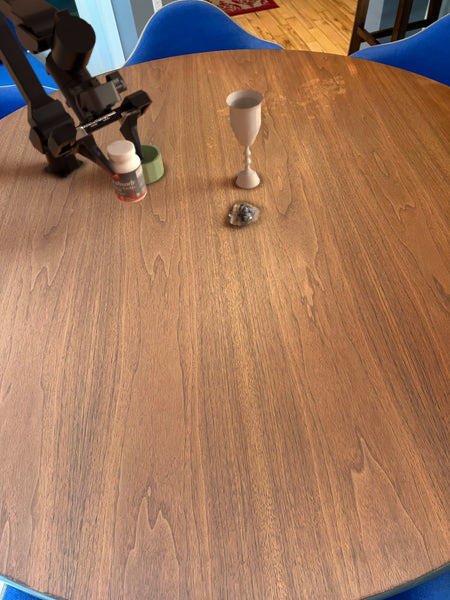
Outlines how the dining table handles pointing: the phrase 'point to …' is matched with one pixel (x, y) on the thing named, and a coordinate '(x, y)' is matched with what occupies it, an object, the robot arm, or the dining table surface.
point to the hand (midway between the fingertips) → (128, 167)
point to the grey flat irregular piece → (243, 214)
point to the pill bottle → (126, 172)
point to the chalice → (245, 129)
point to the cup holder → (151, 163)
